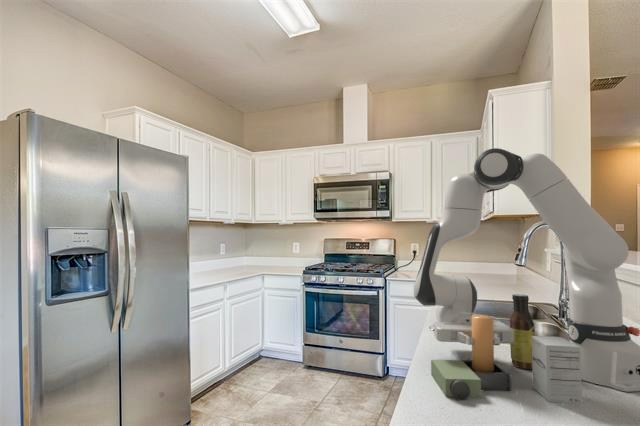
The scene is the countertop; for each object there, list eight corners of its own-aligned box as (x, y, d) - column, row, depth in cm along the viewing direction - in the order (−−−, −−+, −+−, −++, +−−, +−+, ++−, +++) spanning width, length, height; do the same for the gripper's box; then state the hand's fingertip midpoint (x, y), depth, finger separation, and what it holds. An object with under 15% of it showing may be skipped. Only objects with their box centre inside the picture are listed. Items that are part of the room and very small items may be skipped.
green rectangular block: (461, 375, 91) (461, 360, 91) (483, 400, 77) (483, 382, 78) (431, 374, 91) (431, 359, 91) (447, 399, 78) (447, 381, 78)
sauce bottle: (540, 371, 94) (538, 297, 95) (515, 369, 95) (513, 296, 96) (530, 362, 100) (528, 293, 102) (507, 360, 102) (505, 292, 103)
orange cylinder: (488, 369, 89) (487, 314, 90) (497, 377, 84) (496, 319, 85) (469, 368, 90) (468, 314, 90) (476, 376, 85) (476, 319, 85)
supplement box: (531, 387, 84) (530, 335, 85) (564, 389, 83) (563, 336, 84) (547, 402, 77) (545, 344, 78) (583, 404, 76) (581, 346, 77)
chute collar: (494, 375, 91) (493, 360, 91) (511, 391, 82) (510, 374, 82) (461, 374, 91) (461, 359, 92) (474, 390, 82) (474, 373, 83)
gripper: (427, 314, 101) (441, 328, 87) (498, 316, 100) (524, 330, 86) (427, 336, 101) (442, 353, 87) (499, 338, 100) (525, 355, 86)
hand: (484, 341), depth 86 cm, fingers closed on orange cylinder, 5 cm apart
